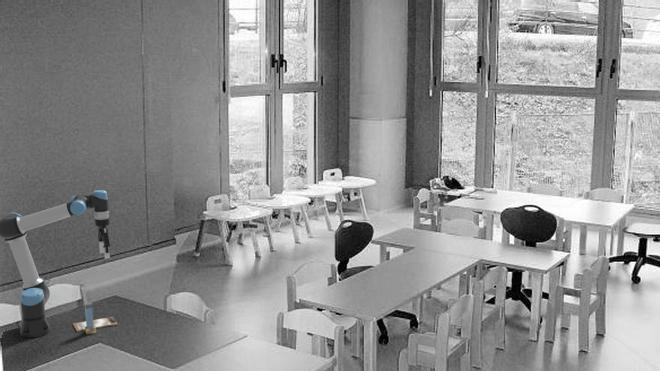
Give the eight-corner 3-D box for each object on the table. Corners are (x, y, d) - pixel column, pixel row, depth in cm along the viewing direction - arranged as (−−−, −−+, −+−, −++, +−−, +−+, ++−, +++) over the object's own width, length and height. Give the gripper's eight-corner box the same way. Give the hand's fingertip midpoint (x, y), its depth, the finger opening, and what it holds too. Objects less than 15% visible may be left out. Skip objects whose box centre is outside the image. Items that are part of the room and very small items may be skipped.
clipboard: (77, 332, 435) (76, 329, 435) (72, 324, 448) (72, 321, 447) (118, 324, 445) (118, 322, 445) (112, 317, 457) (112, 315, 457)
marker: (87, 331, 432) (85, 305, 429) (86, 329, 435) (84, 303, 432) (94, 330, 433) (92, 304, 431) (92, 328, 436) (90, 302, 434)
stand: (86, 334, 431) (86, 329, 431) (85, 331, 436) (84, 326, 435) (96, 332, 433) (95, 327, 433) (94, 330, 438) (94, 324, 437)
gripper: (113, 221, 436) (116, 259, 440) (104, 213, 458) (107, 249, 462) (99, 223, 433) (102, 261, 436) (90, 215, 455) (93, 251, 458)
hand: (104, 255), depth 449 cm, fingers open, 13 cm apart
